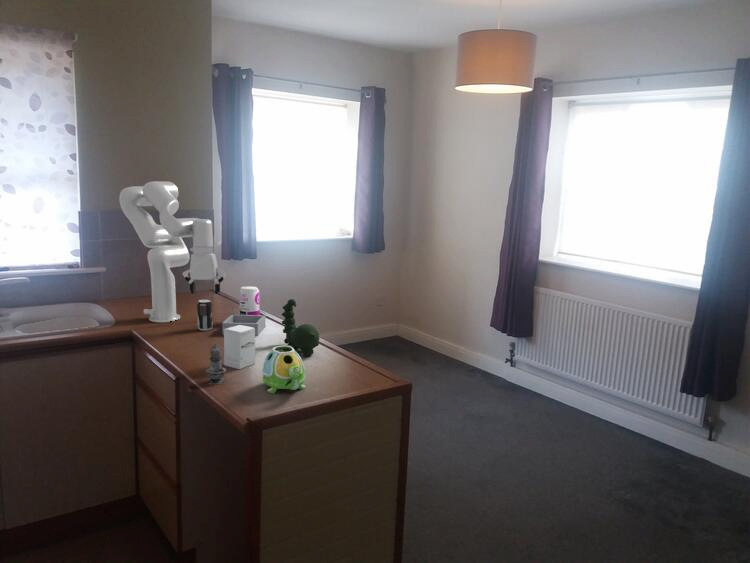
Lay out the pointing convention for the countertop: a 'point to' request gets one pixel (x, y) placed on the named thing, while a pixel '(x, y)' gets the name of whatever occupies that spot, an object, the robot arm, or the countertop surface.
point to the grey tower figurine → (215, 367)
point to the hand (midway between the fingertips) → (205, 293)
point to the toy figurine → (299, 332)
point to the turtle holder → (283, 369)
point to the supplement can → (249, 300)
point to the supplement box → (239, 346)
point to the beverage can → (204, 315)
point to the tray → (245, 322)
